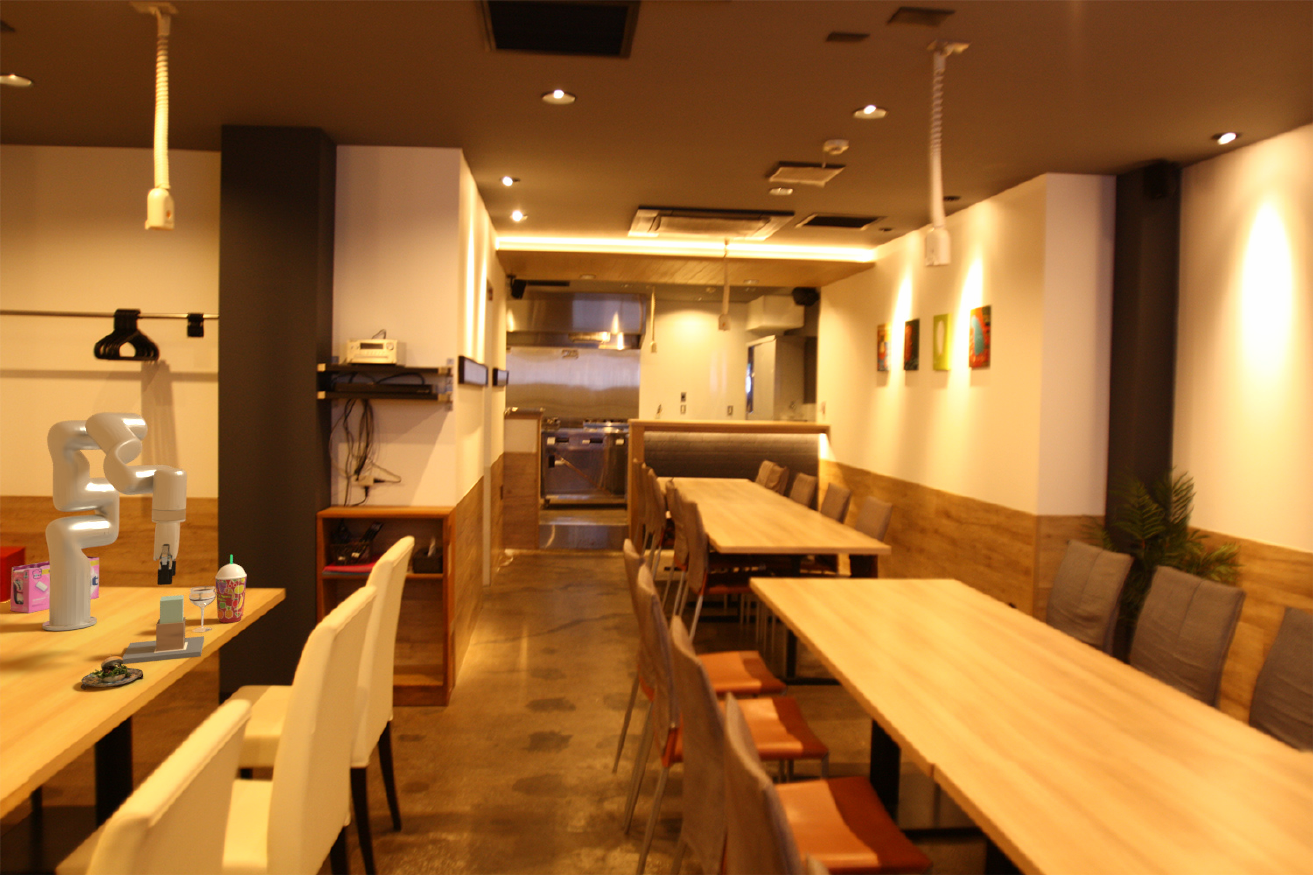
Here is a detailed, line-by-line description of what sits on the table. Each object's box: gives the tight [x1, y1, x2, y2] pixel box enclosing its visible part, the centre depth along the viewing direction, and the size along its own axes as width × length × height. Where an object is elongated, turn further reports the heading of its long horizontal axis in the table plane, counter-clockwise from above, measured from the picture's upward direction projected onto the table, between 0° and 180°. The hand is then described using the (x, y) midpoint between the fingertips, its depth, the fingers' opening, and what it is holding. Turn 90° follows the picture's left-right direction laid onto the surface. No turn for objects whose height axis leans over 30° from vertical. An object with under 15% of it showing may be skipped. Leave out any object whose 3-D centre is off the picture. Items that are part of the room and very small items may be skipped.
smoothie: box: [215, 554, 248, 624], centre depth 234 cm, size 8×8×20 cm
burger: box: [80, 655, 144, 691], centre depth 181 cm, size 12×12×8 cm
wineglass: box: [188, 585, 217, 633], centre depth 224 cm, size 7×7×12 cm
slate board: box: [121, 636, 205, 665], centre depth 204 cm, size 15×17×1 cm
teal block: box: [159, 594, 185, 624], centre depth 203 cm, size 5×5×6 cm
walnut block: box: [155, 616, 186, 652], centre depth 203 cm, size 6×6×7 cm
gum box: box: [10, 555, 100, 614], centre depth 247 cm, size 24×8×14 cm, turn 165°
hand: (166, 580), depth 204 cm, fingers open, 9 cm apart
